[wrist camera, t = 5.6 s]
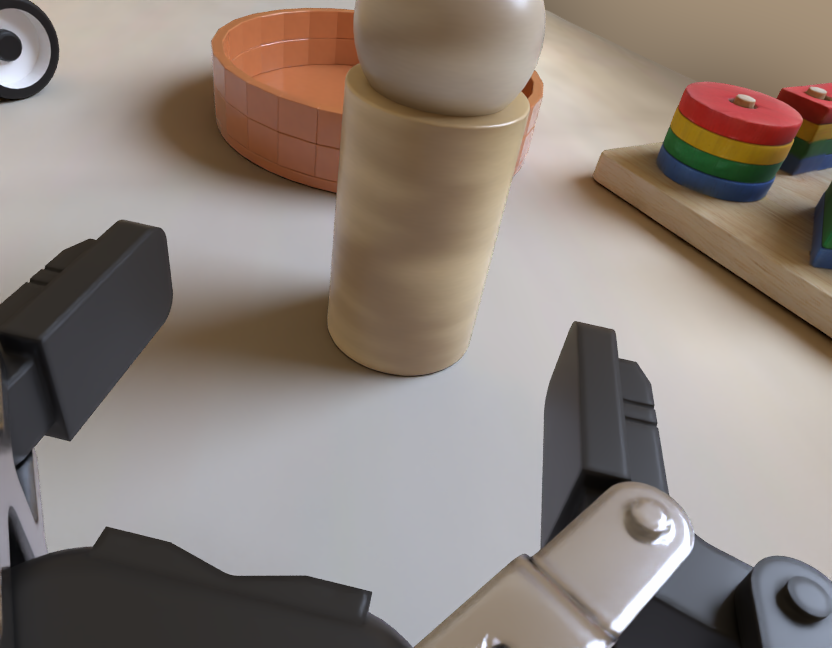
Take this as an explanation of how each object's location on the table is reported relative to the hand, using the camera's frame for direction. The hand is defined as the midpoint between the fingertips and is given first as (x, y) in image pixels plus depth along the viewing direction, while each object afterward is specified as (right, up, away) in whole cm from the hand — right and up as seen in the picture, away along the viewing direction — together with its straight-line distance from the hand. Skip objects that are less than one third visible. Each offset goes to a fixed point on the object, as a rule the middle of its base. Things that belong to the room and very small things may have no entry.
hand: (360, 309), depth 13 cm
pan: (-1, +12, +26) cm, 28 cm away
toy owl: (0, 0, +12) cm, 12 cm away
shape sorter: (+23, +5, +23) cm, 33 cm away
